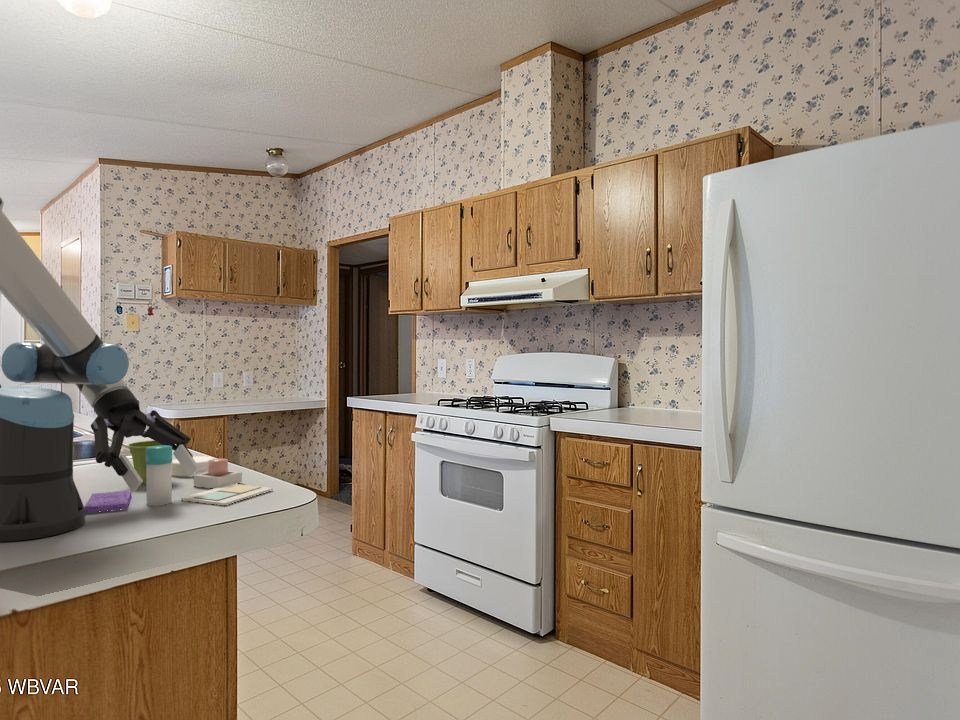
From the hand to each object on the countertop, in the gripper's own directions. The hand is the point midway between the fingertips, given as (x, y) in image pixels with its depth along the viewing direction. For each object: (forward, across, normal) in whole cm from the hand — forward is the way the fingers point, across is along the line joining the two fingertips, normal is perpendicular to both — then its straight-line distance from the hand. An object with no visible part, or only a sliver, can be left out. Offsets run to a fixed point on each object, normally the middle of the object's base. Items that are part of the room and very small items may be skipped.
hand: (167, 479), depth 122 cm
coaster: (-10, -25, -17) cm, 32 cm away
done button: (0, -17, -4) cm, 17 cm away
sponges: (-3, +4, -11) cm, 13 cm away
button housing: (+1, -17, -6) cm, 18 cm away
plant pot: (-10, -14, -18) cm, 25 cm away
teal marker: (+2, 0, -5) cm, 5 cm away
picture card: (+8, -10, +1) cm, 12 cm away
